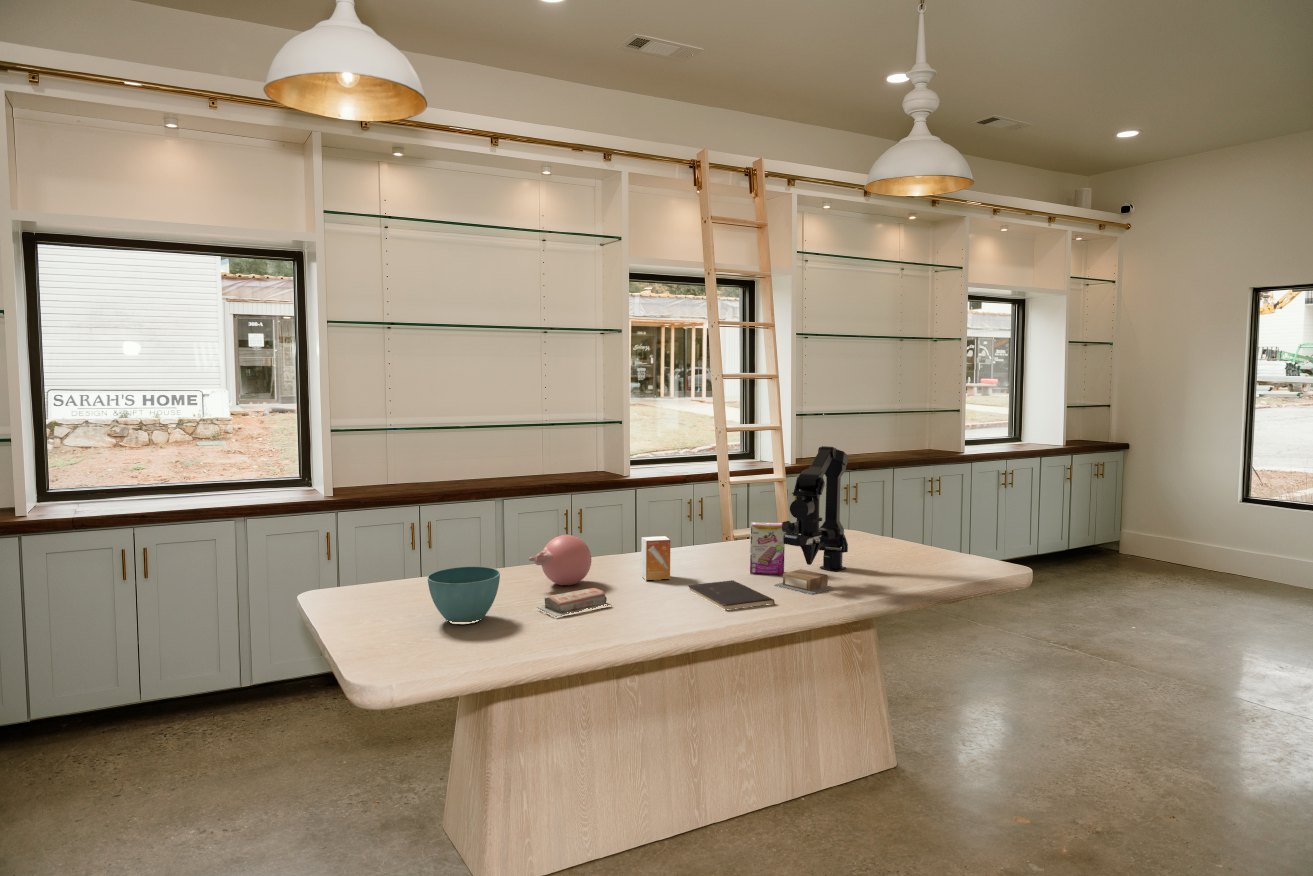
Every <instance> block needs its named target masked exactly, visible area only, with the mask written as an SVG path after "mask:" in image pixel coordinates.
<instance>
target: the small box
mask: <svg viewBox="0 0 1313 876" xmlns="http://www.w3.org/2000/svg"><path fill="white" fill-rule="evenodd" d="M640 554H641V558H640V560H641V561H640V562H641V564H640V565H641V566H640V567H641V568H640V570H641V575H640V576H642V577H643V578H644V579H645V580H654V581H662V580H661V579H670V580H671V539H670V538H668V537H667V536H666V535H663V536H662V535H661V536H659V535H657V536H643V537H642V536H641V553H640ZM642 577H641V578H642ZM643 578H642V579H643ZM644 579H643V580H644ZM645 580H644V581H645Z"/></svg>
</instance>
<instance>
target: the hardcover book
mask: <svg viewBox="0 0 1313 876" xmlns="http://www.w3.org/2000/svg"><path fill="white" fill-rule="evenodd" d="M687 587H688V588H689V590H690V591H692V592H694V593H696V594H697V595H699V596H701V597H703V598H705V599H707V600H708V601H710V602H712V603H713V604H716V605H718V606H719V607H721V608H723V609H725V610H727V609H735V608H743V607H751V606H760V605H766V604H774V605H775V599H774V598H772V597H769V596H768V595H765V594H764V593H761V592H759V591H757V590H754V589H752V588H751V587H748V586H746V585H744V584H743V583H740V582H737V581H736V580H734V579H733V580H732V579H731V580H723V581H715V582H714V581H713V582H704V583H696V584H688V585H687ZM690 591H689V592H690ZM692 592H691V593H692ZM694 593H693V594H694ZM696 594H695V595H696ZM697 595H696V596H697ZM699 596H698V597H699ZM701 597H700V598H701ZM703 598H702V599H703ZM705 599H704V600H705ZM708 601H707V602H708ZM710 602H709V603H710ZM712 603H711V604H712ZM713 604H712V605H713ZM719 607H718V608H719ZM760 607H761V606H760ZM721 608H720V609H721Z"/></svg>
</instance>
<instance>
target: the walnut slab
mask: <svg viewBox="0 0 1313 876" xmlns="http://www.w3.org/2000/svg"><path fill="white" fill-rule="evenodd" d="M828 576H829V575H828V574H825V573H821V572H818V571H817V572H816V571H811V570H807V569H802V568H800V569H797V570H793V571H789V572H784V574H783V575H782V583H783V585H785V586H789V587H793V588H798V589H802V590H806V591H813V590H816V589H820V588H823V587H829V585H828V580H829V577H828Z"/></svg>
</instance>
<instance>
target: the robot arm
mask: <svg viewBox="0 0 1313 876" xmlns="http://www.w3.org/2000/svg"><path fill="white" fill-rule="evenodd" d="M848 462H849V456H848V454H847V453H846V452H845V451H844V450H841V449H837V448H836V447H834V446H828V445H827V446H826V445H825V446H824V445H822V446H819V447H818V450H817V454H816V456H815V458H813V461H812V463H811V465H810V466H809V467H808V468H806V469H803V470H802V471H801V472H800V473H799V474H798V476H797V477H796V480H795V485H794V489H793V493H792V496H793V497H796V499H795V500H793V501H792V502H791V503H790V506H789V513H790V514H791V516H792V517H793V518H795V519H796V521H795V522H791V521H790V520H786V521H782V522H781V523H782V531H783V532H785V536H784V537H783V543H784V544H785V545H787V546H792V547H799V548H800V549H801V551H802V552H803V553H802V554H803V556H804V560H805V563H806V565H808V566H810V565H813V562H814V560H815V558H816V555H817V554H818V552H819V551H823V556H822V557H823V559H822V565H820V566H819V569H822V570H826V571H830V572H840V571H842V570H845V569H847V567H846V566H843V554H844V553H848V551H849V543H848V540H847V537H846V535H845V528H844V527H843V524H841V521H840V513H841V512H840V511H841V510H840V509H841V507H840V506H841V482H842V481H841V479H842V476H843V475H844V473H845V472H846V469H847V466H848ZM824 475H825V477H826V478H825V479H826V480H825V479H824ZM825 481H826V482H825ZM824 488H825V512H824V513H825V515H824V516H825V517H824V522H822V521H823V517H820V498H821V496H822V495H823V491H824ZM820 522H822V525H820Z"/></svg>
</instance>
